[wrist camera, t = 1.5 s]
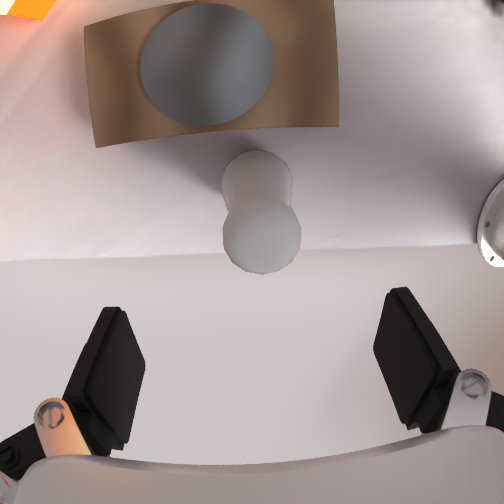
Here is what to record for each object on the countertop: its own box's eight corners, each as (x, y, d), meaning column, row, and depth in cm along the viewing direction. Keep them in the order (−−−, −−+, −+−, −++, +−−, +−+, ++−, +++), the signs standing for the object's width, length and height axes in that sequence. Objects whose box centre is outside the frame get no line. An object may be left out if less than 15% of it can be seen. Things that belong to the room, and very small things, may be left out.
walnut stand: (318, 12, 20) (335, -4, 15) (322, 120, 25) (340, 128, 20) (109, 34, 20) (80, 26, 16) (119, 136, 25) (93, 149, 20)
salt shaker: (301, 172, 27) (341, 239, 16) (261, 218, 30) (270, 308, 18) (250, 131, 26) (253, 169, 14) (210, 182, 28) (185, 255, 16)
